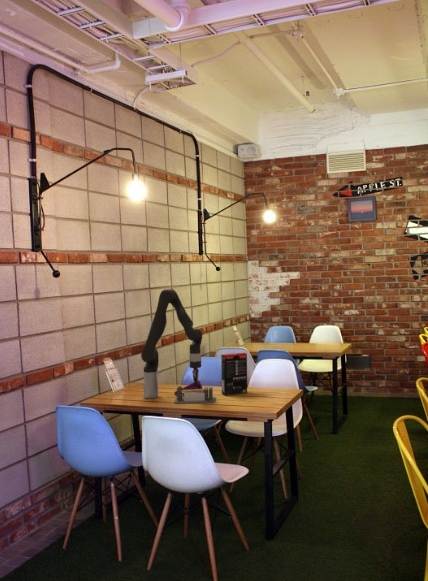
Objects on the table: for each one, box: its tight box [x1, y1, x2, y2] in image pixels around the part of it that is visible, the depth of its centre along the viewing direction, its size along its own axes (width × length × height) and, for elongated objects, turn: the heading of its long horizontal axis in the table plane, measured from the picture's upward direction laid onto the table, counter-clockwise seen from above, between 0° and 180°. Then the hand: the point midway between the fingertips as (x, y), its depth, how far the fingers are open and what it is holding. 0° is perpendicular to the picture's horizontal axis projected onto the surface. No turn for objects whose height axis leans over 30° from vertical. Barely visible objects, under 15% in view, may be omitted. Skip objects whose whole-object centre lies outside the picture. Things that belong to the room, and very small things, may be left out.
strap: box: [181, 386, 209, 393], centre depth 370 cm, size 19×3×2 cm, turn 86°
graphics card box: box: [220, 352, 248, 396], centre depth 388 cm, size 17×7×27 cm, turn 115°
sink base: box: [173, 385, 217, 404], centre depth 370 cm, size 26×13×9 cm, turn 86°
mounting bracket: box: [173, 379, 204, 396], centre depth 389 cm, size 10×8×18 cm
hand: (196, 386), depth 370 cm, fingers closed
